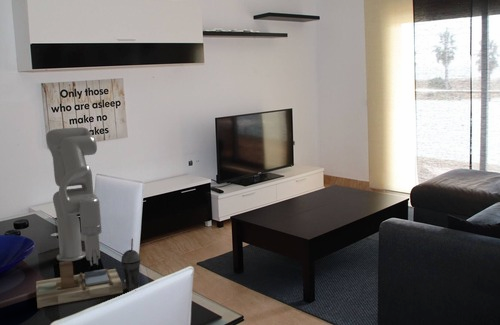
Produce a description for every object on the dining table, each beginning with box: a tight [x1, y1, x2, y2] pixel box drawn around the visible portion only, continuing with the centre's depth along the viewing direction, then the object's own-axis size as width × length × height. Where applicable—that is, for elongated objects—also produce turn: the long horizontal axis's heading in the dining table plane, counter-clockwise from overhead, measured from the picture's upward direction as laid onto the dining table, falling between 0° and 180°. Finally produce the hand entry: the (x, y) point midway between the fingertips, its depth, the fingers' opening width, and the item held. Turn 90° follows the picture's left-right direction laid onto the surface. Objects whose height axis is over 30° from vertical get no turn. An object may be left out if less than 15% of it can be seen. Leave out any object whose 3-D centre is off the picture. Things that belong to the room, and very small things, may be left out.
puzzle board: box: [35, 268, 124, 309], centre depth 198 cm, size 18×30×4 cm, turn 113°
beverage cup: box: [120, 237, 141, 292], centre depth 197 cm, size 7×7×20 cm
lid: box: [83, 268, 109, 286], centre depth 199 cm, size 8×8×2 cm
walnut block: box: [58, 260, 75, 289], centre depth 196 cm, size 4×4×10 cm
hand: (94, 274), depth 205 cm, fingers closed
